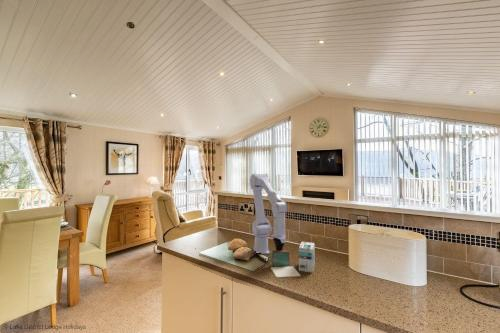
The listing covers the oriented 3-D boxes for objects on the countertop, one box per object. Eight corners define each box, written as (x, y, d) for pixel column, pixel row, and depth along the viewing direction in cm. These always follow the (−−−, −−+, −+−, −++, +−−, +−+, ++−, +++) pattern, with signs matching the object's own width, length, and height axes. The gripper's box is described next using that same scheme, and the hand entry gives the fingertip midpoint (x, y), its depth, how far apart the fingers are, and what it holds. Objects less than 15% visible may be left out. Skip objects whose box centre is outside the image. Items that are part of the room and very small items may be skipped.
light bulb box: (313, 273, 109) (313, 249, 109) (298, 270, 111) (298, 247, 111) (314, 264, 119) (315, 242, 119) (301, 262, 121) (301, 241, 121)
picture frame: (271, 264, 118) (271, 250, 118) (287, 264, 119) (287, 249, 119) (273, 267, 115) (273, 252, 115) (289, 266, 116) (289, 251, 116)
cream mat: (270, 268, 114) (270, 267, 114) (292, 266, 116) (292, 266, 116) (276, 277, 104) (276, 276, 104) (300, 276, 106) (300, 275, 106)
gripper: (268, 222, 126) (267, 248, 126) (275, 229, 112) (275, 258, 112) (280, 222, 128) (280, 248, 127) (290, 229, 113) (289, 258, 113)
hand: (278, 253), depth 120 cm, fingers closed
